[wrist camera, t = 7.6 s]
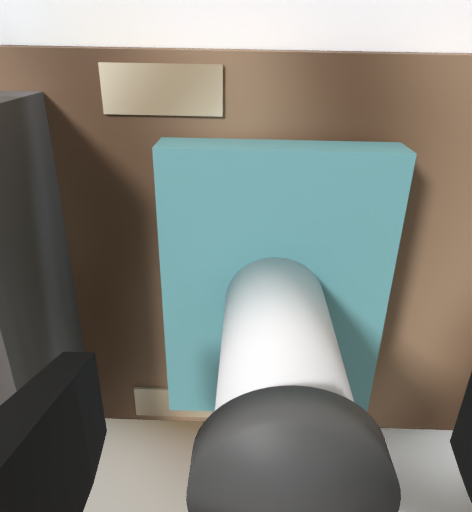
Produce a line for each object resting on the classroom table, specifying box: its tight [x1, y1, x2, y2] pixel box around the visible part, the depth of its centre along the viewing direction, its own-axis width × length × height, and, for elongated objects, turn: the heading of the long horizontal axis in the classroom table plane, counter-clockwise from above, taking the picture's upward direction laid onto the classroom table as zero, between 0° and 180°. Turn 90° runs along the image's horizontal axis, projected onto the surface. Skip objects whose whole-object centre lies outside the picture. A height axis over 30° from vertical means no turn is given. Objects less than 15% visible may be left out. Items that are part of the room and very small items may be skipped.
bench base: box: [0, 45, 472, 430], centre depth 12 cm, size 18×12×6 cm, turn 89°
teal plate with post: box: [152, 137, 417, 512], centre depth 10 cm, size 6×8×7 cm
